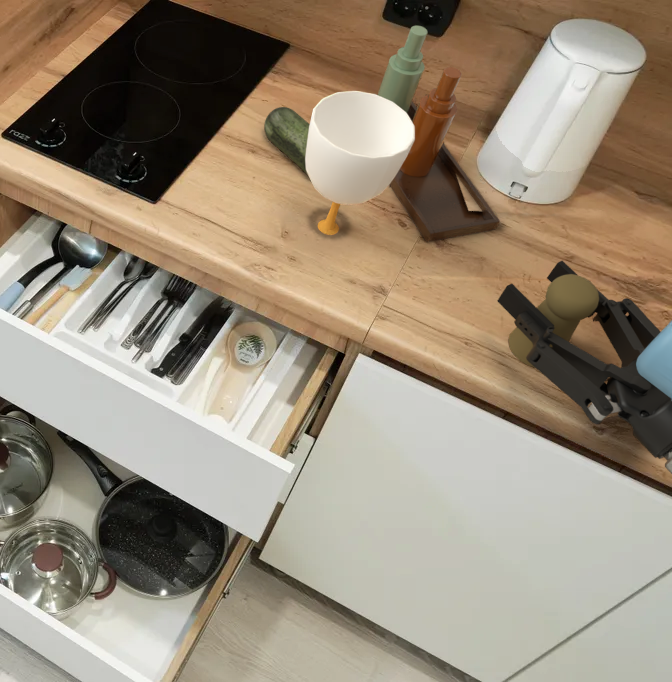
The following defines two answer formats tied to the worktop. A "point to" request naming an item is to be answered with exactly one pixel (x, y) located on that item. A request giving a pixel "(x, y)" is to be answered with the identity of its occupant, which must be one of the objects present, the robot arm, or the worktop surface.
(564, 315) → the olive pepper shaker
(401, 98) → the sage bottle
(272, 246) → the worktop surface
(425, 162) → the amber bottle
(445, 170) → the tray
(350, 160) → the cup
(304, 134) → the vegetable
